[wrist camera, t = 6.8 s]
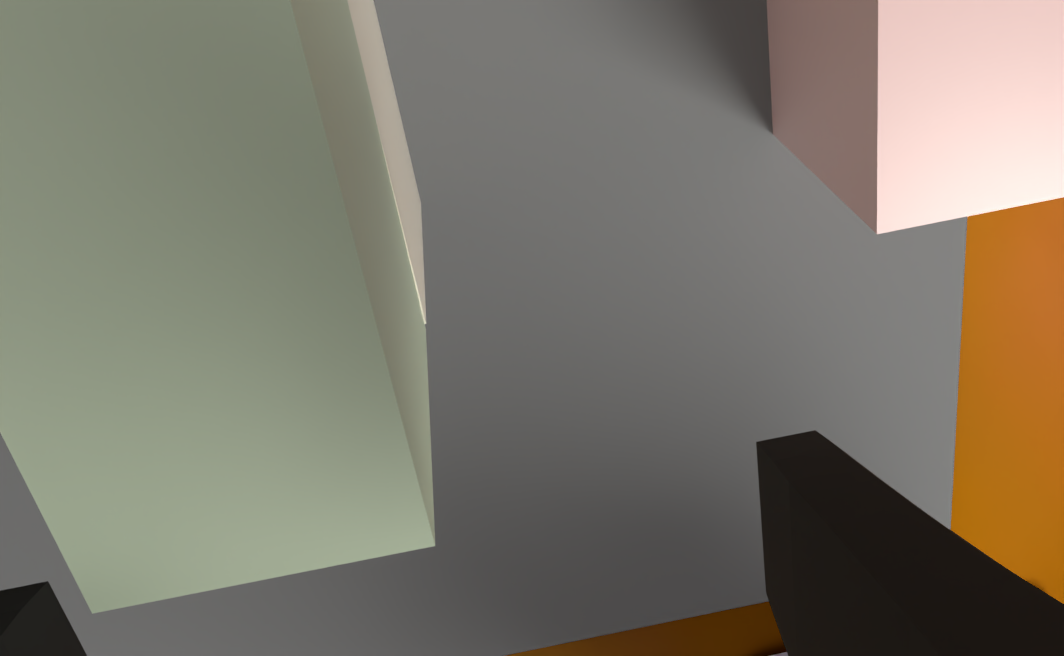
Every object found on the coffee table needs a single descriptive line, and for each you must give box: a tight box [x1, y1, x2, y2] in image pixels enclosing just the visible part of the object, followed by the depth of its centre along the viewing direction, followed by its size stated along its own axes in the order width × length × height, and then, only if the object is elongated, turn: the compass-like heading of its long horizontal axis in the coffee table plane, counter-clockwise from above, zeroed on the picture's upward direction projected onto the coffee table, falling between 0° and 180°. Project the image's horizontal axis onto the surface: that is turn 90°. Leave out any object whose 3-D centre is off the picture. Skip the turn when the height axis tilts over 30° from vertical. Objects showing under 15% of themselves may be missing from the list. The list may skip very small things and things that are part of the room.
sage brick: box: [0, 0, 435, 614], centre depth 10 cm, size 7×4×5 cm, turn 9°
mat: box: [0, 0, 967, 656], centre depth 19 cm, size 20×22×1 cm
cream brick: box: [347, 0, 426, 324], centre depth 14 cm, size 7×4×5 cm, turn 10°
